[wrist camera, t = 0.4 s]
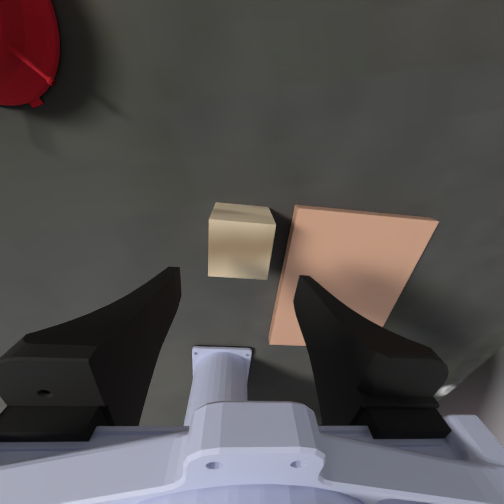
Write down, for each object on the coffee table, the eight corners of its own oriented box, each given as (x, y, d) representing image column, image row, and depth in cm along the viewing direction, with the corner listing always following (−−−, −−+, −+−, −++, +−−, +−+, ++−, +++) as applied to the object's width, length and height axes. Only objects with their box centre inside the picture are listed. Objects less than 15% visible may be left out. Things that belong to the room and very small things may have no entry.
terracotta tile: (366, 340, 30) (371, 347, 29) (268, 336, 28) (269, 344, 27) (429, 217, 21) (439, 221, 20) (295, 204, 20) (298, 208, 19)
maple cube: (261, 252, 23) (267, 279, 18) (214, 249, 22) (208, 276, 18) (268, 207, 20) (276, 224, 16) (216, 202, 20) (208, 219, 15)
